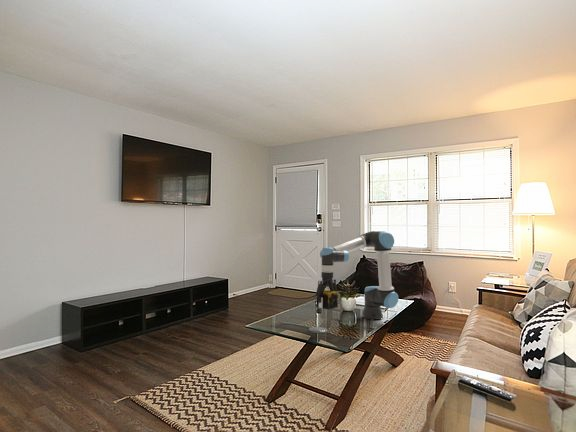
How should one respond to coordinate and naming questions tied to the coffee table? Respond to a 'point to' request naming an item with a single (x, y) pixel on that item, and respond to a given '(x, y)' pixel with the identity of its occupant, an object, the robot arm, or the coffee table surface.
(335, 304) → the candle
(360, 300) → the coffee table surface
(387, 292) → the robot arm
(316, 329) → the coaster
